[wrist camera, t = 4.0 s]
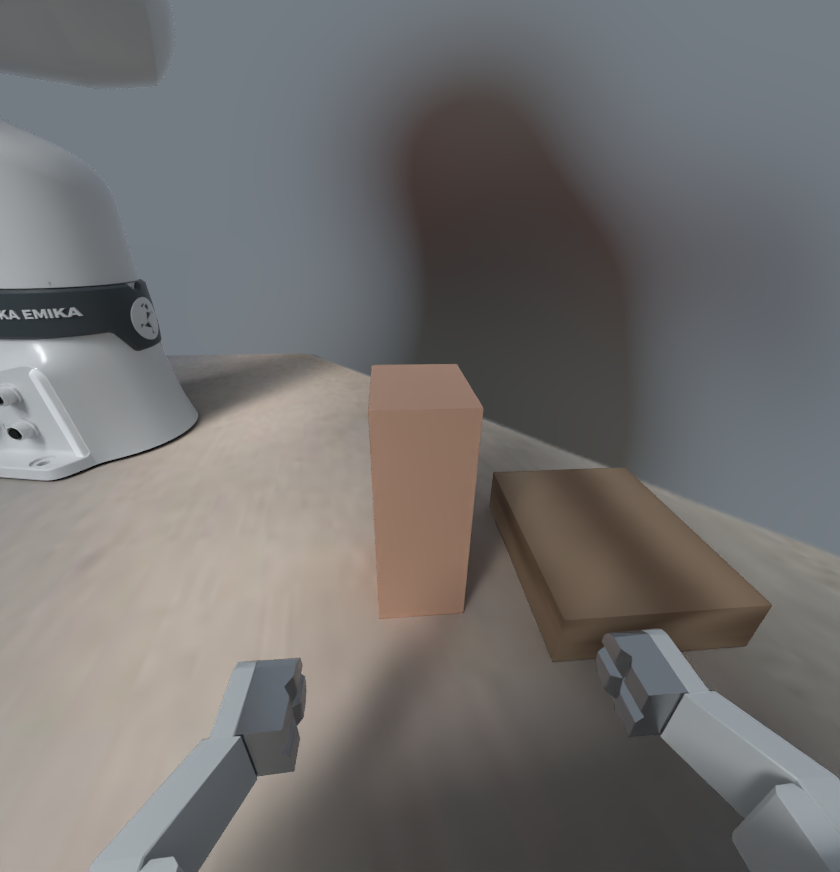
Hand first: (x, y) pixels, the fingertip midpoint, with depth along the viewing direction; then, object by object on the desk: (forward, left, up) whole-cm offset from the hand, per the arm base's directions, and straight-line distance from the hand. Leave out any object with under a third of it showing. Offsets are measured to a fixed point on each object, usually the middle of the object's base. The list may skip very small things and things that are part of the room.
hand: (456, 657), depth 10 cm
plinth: (+11, +10, -8) cm, 17 cm away
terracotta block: (0, +10, -8) cm, 13 cm away
